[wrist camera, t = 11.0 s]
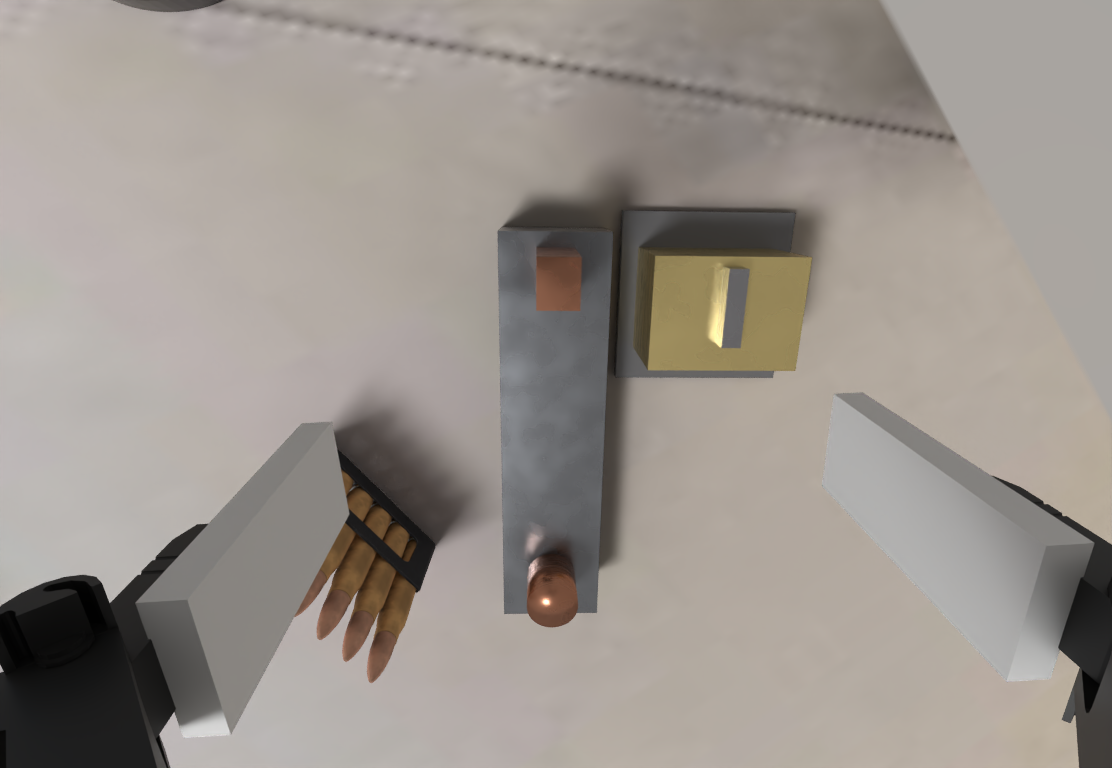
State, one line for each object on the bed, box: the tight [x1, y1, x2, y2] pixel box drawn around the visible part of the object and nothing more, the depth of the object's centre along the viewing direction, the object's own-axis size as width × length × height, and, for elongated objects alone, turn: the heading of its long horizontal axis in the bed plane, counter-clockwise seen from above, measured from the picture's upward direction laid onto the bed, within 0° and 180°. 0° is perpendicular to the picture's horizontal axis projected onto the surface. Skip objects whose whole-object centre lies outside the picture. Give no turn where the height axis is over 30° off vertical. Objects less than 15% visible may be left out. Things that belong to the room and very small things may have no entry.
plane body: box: [498, 227, 613, 627], centre depth 33 cm, size 24×6×9 cm, turn 179°
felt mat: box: [614, 211, 795, 378], centre depth 35 cm, size 10×10×1 cm
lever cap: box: [633, 247, 812, 371], centre depth 32 cm, size 6×8×6 cm
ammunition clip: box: [294, 449, 435, 683], centre depth 33 cm, size 11×2×12 cm, turn 39°
